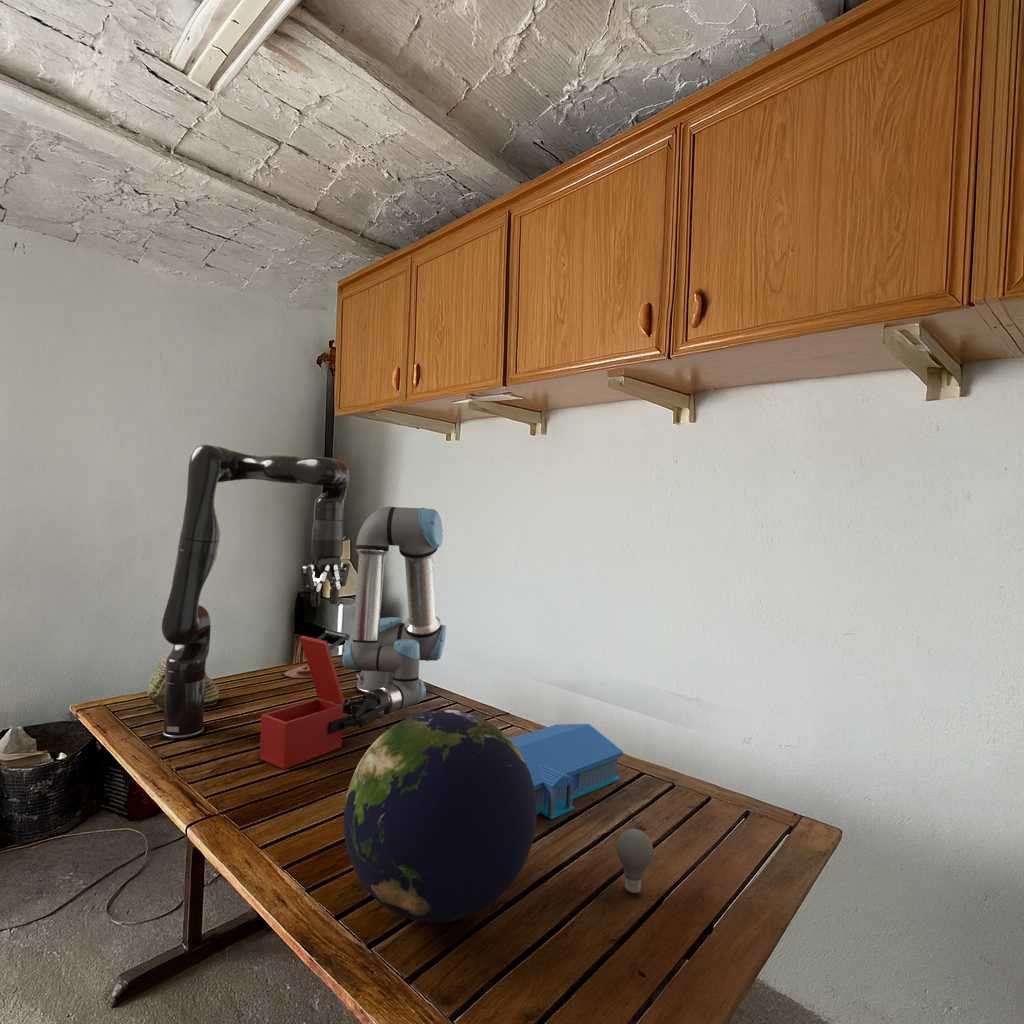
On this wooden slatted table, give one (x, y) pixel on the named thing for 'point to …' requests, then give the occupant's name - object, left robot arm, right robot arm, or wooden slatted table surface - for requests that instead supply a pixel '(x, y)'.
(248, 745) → the wooden slatted table surface
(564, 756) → the model building
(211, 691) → the fossil
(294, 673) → the anatomical model
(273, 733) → the chest
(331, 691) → the lid
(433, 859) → the globe
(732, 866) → the wooden slatted table surface
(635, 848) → the light bulb
